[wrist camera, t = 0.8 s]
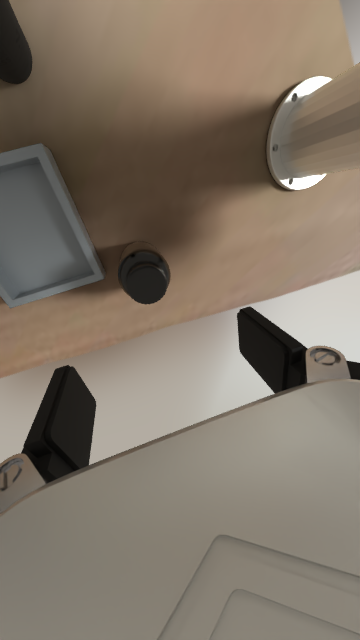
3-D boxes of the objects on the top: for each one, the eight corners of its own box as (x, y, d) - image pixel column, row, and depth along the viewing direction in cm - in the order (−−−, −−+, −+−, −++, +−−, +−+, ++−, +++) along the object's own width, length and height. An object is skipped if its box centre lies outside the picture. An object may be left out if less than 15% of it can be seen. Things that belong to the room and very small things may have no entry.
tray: (49, 149, 25) (41, 142, 22) (105, 273, 33) (104, 278, 30) (-71, 180, 23) (-94, 176, 21) (19, 300, 32) (10, 308, 29)
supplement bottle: (161, 239, 32) (177, 254, 22) (162, 281, 36) (177, 310, 26) (116, 240, 31) (112, 256, 21) (122, 283, 34) (121, 315, 24)
